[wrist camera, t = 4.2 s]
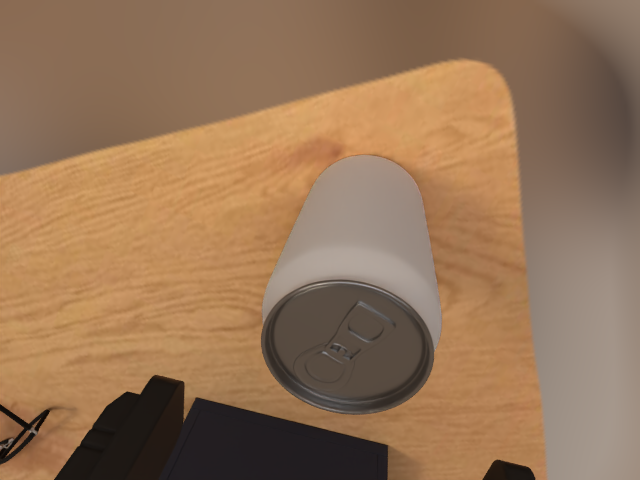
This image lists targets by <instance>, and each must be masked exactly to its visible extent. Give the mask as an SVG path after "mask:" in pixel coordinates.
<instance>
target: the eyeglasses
mask: <svg viewBox="0 0 640 480" xmlns="http://www.w3.org/2000/svg"><path fill="white" fill-rule="evenodd" d="M0 411H2V412H3V413H5V414H6V415H7V416H9V417H10V418H11V419H13V420H14V421H16V422H17V423H18V424H20V425H21V426H22V427H24V429H23V431H22V432H21V433H20V434H19V435H18V436H17V437H16V438H15V440H14V439H13V438H11V439H10V440H8V439H7V440H4V441H2V442H0V449H1V451H0V464H3V463H5V462H7V461H8V460H10V459H11V458H12V457H14V456H15V455H16V454H17V453H19V452H20V451H21V450H22V449H23V448H24V447H25V446H26V445H27V444H28V443H29V442H30V441H31V440H32V439H33V437H34V436H36V435H37V434H38V431H39V428H40V426H41V425H42V423H43V422H44V420H45V419H46V417H47V416H48V414H49V412H50V411H49V410H45V411H44V412H43V413H41V414H40V415H39V416H37V417H36V418H35V419H34V420H33V421H32V422H31V423H30V424H28V423H26V422H25V421H24V420H22V419H21V418H19V417H18V416H16V415H15V414H13V413H12V412H10V411H9V410H8V409H6V408H5V407H3V406H2V405H0ZM40 418H41V419H40ZM39 419H40V421H39V422H38V423H37V425H36V426H35V428H34V427H32V425H33V424H35V423H36V422H37V421H38V420H39ZM27 430H28V431H30V432H31V433H30V434H29V436H28V437H27V438H26V439H25V441H24V442H23V443H22V444H21V445H20V446H19V447H18V448H17V449H15V450H14V451H13V452H12V453H11V454H9V455H8V456H6V455H7V454H8V453H9V451H10V450H11V449H12V448H13V447H14V445H15V444H16V443H17V442H18V441H19V439H20V438H21V437H22V436H23V435H24V434H25V433H26V431H27ZM9 443H10V445H9ZM8 445H9V446H8Z"/></svg>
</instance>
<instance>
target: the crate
mask: <svg viewBox="0 0 640 480" xmlns="http://www.w3.org/2000/svg"><path fill="white" fill-rule="evenodd" d="M387 457H388V446H387V445H383V444H379V443H375V442H371V441H367V440H363V439H359V438H355V437H351V436H347V435H343V434H339V433H335V432H331V431H327V430H323V429H319V428H315V427H311V426H307V425H303V424H299V423H295V422H291V421H287V420H283V419H279V418H275V417H271V416H267V415H263V414H259V413H255V412H251V411H247V410H243V409H239V408H235V407H231V406H227V405H223V404H219V403H215V402H211V401H207V400H203V399H199V398H196V399H195V401H194V403H193V405H192V407H191V409H190V411H189V413H188V415H187V417H186V419H185V421H184V423H183V425H182V429H181V432H180V435H179V438H178V440H177V443H176V445H175V447H174V449H173V451H172V453H171V455H170V457H169V459H168V461H167V463H166V465H165V467H164V469H163V472H162V474H161V476H160V478H159V480H387V478H388V458H387Z"/></svg>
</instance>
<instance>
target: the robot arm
mask: <svg viewBox="0 0 640 480" xmlns="http://www.w3.org/2000/svg"><path fill="white" fill-rule="evenodd" d="M183 414H184V382H183V381H179V380H175V379H171V378H167V377H163V376H159V375H154V376H153V377H152V378H151V379H150V380H149V382H148V383H147V385H146V386H145V388H144V389H143V391H142V392H141V394H140V395H139V394H135V393H131V392H125V393H124V394H123V395H121V396H120V397H119V398H117V399H116V400H114V401H113V402H112V403H110V404H109V405H108V406H107V407H106V408H105V409H104V411H103V412H102V414H101V415H100V416H99V418H98V419H97V421H96V422H95V423H94V425H93V427H92V429H91V430H89V432H88V433H87V434H86V436H85V437H84V439H83V440H82V441H81V444H80V446H78V447H77V448H76V450H75V451H74V453H73V454H72V455H71V457H70V458H69V460H68V461H67V462H66V464H65V465H64V467H63V468H62V469H61V471H60V472H59V473H58V475H57V476H56V478H55V479H54V480H159V478H160V476H161V474H162V472H163V469H164V467H165V465H166V463H167V461H168V459H169V457H170V455H171V453H172V451H173V449H174V447H175V445H176V443H177V440H178V438H179V435H180V432H181V429H182V424H183ZM483 480H535V477H534V474H533V472H532V471H531V469H530V468H528V467H526V466H522V465H518V464H514V463H510V462H505V461H501V460H495V461H494V462H493V463H492V465H491V467H490V468H489V470H488V471H487V473H486V475H485V476H484V478H483Z"/></svg>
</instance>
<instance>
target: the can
mask: <svg viewBox="0 0 640 480" xmlns="http://www.w3.org/2000/svg"><path fill="white" fill-rule="evenodd" d="M262 321H263V329H262V334H261V347H262V353H263V356H264V359H265V362H266V364H267V366H268V368H269V370H270V372H271V373H272V375H273V376H274V377H275V379H276V380H277V381H278V382H279V383H280V384H281V385H282V386H283V387H284V388H285V389H286V390H287V391H288V392H290V393H291V394H292V395H294V396H295V397H297V398H298V399H300V400H302V401H304V402H306V403H308V404H310V405H312V406H314V407H317V408H320V409H323V410H326V411H330V412H335V413H341V414H353V415H360V414H371V413H377V412H382V411H385V410H388V409H391V408H394V407H396V406H398V405H400V404H402V403H404V402H406V401H407V400H409V399H410V398H411V397H413V396H414V395H415V394H416V393H417V392H418V391H419V390H420V389H421V388H422V387H423V385H424V384H425V383H426V381H427V379H428V377H429V375H430V373H431V370H432V367H433V362H434V352H435V349H436V347H437V345H438V342H439V339H440V334H441V326H442V315H441V305H440V298H439V292H438V285H437V279H436V273H435V267H434V261H433V256H432V250H431V244H430V238H429V233H428V227H427V222H426V216H425V211H424V206H423V201H422V197H421V193H420V191H419V188H418V186H417V184H416V183H415V181H414V180H413V178H412V177H411V176H410V175H409V173H408V172H407V171H406V170H404V169H403V168H402V167H401V166H399V165H398V164H396V163H394V162H392V161H390V160H388V159H385V158H382V157H378V156H373V155H356V156H351V157H347V158H344V159H341V160H339V161H337V162H335V163H333V164H332V165H330V166H329V167H328V168H326V169H325V170H324V171H323V172H322V173H321V174H320V176H319V177H318V178H317V179H316V181H315V183H314V184H313V186H312V188H311V190H310V192H309V194H308V196H307V198H306V200H305V203H304V205H303V207H302V209H301V211H300V213H299V215H298V218H297V220H296V222H295V224H294V226H293V229H292V231H291V233H290V235H289V237H288V239H287V242H286V244H285V246H284V248H283V251H282V253H281V255H280V257H279V259H278V262H277V264H276V266H275V268H274V271H273V273H272V275H271V278H270V280H269V283H268V285H267V288H266V291H265V294H264V298H263V303H262Z"/></svg>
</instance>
